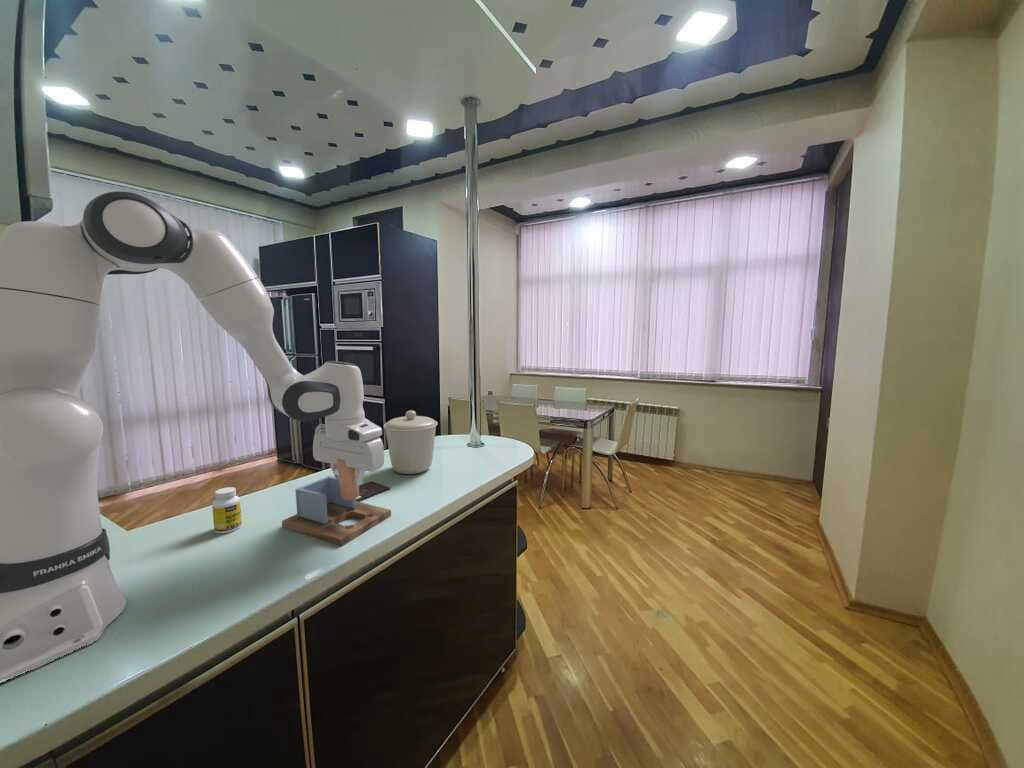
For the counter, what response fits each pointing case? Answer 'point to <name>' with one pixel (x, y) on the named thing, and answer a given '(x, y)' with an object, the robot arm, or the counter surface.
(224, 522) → the supplement bottle
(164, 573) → the counter surface
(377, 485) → the chocolate bar
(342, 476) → the peg
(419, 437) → the canister
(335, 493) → the housing
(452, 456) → the counter surface
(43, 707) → the counter surface
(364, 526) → the socket board
